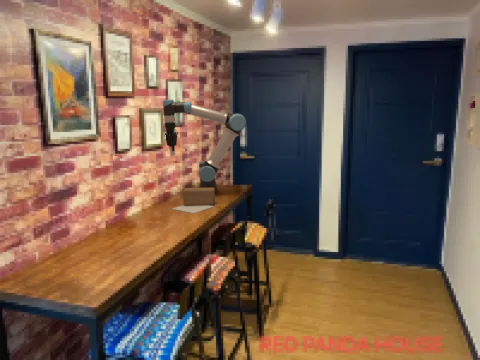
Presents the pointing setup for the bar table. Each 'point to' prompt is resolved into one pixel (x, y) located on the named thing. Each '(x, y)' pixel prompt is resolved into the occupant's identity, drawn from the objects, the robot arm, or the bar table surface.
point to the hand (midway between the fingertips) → (172, 155)
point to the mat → (192, 208)
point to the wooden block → (198, 196)
